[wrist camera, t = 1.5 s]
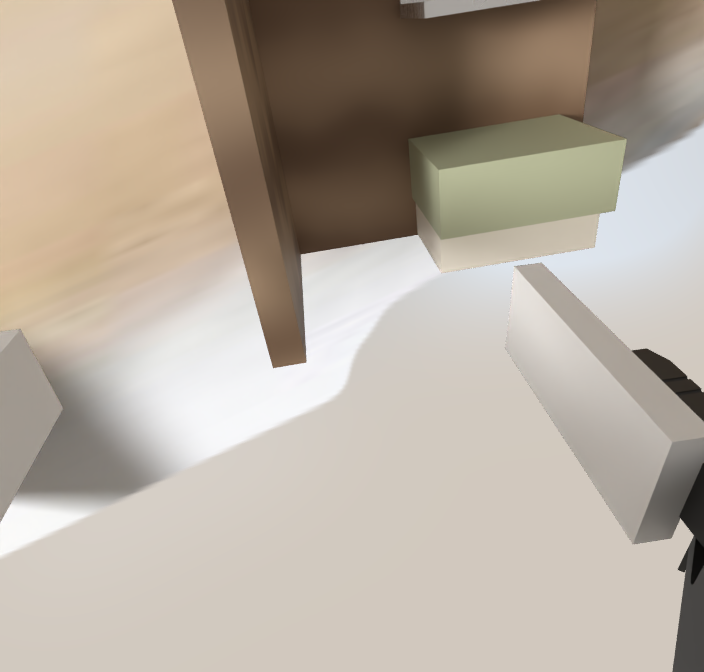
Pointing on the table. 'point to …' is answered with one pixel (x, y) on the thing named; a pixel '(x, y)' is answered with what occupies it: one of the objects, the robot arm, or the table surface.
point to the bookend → (448, 7)
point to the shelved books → (513, 190)
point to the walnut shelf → (357, 116)
